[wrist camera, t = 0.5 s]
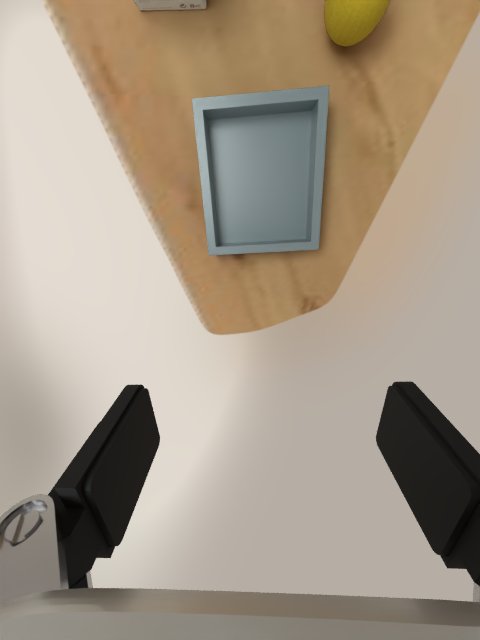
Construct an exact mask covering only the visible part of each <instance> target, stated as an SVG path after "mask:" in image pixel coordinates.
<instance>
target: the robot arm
mask: <svg viewBox="0 0 480 640" xmlns="http://www.w3.org/2000/svg"><path fill="white" fill-rule="evenodd" d="M376 441H377V445H378V447H379V449H380V451H381V453H382V455H383V457H384V459H385V461H386V462H387V464H388V466H389V468H390V470H391V472H392V474H393V476H394V478H395V480H396V481H397V483H398V485H399V487H400V489H401V491H402V493H403V495H404V497H405V498H406V500H407V502H408V504H409V506H410V508H411V510H412V512H413V514H414V516H415V518H416V520H417V521H418V523H419V525H420V527H421V529H422V531H423V533H424V535H425V537H426V538H427V540H428V542H429V544H430V546H431V548H432V549H433V551H434V552H435V553H436V554H438V555H441V558H442V559H443V561H444V563H445V565H446V567H447V568H458V569H467V571H468V572H469V574H470V576H471V578H472V579H473V581H474V591H473V602H467V601H465V602H464V601H451V600H433V599H410V598H387V597H363V596H339V595H338V596H337V595H312V594H286V593H259V592H258V593H257V592H231V591H199V590H167V589H119V588H111V589H110V588H93V586H92V580H91V574H90V570H91V569H92V566H93V564H94V562H95V559H96V558H111V555H112V553H113V550H114V548H115V546H118V545H119V544H120V543H121V541H122V539H123V537H124V534H125V531H126V529H127V526H128V524H129V521H130V519H131V516H132V513H133V511H134V508H135V506H136V503H137V501H138V498H139V495H140V493H141V490H142V487H143V485H144V482H145V480H146V477H147V475H148V472H149V470H150V467H151V464H152V462H153V459H154V457H155V454H156V451H157V449H158V446H159V442H160V435H159V432H158V427H157V424H156V419H155V416H154V411H153V407H152V404H151V400H150V396H149V392H148V389H146V388H144V386H143V385H127V386H126V387H125V388H124V389H123V391H122V392H121V393H120V395H119V396H118V398H117V399H116V401H115V402H114V404H113V405H112V406H111V408H110V409H109V411H108V412H107V413H106V415H105V416H104V418H103V419H102V421H101V422H100V423H99V424H98V425H97V427H96V428H95V429H94V431H93V432H92V433H91V435H90V436H89V438H88V439H87V440H86V442H85V443H84V445H83V446H82V448H81V449H80V451H79V452H78V453H77V455H76V456H75V457H74V459H73V460H72V462H71V463H70V465H69V466H68V468H67V469H66V470H65V472H64V473H63V474H62V476H61V477H60V479H59V480H58V482H57V483H56V484H55V486H54V487H53V489H52V490H51V492H50V493H49V494H48V495H42V494H39V495H35V496H31V497H28V498H26V499H24V500H22V501H20V502H19V503H17V504H16V505H14V506H13V507H11V508H10V509H9V510H8V511H6V512H5V513H4V514H3V515H2V516H1V517H0V640H480V454H479V453H478V452H477V451H476V450H475V449H474V447H472V445H471V444H470V443H469V442H468V441H467V440H466V439H465V438H464V437H463V436H462V435H461V433H460V432H459V431H458V430H457V429H456V428H455V427H454V426H453V425H452V424H451V423H450V421H449V420H448V419H447V418H446V417H445V416H444V415H443V414H442V413H441V412H440V411H439V409H438V408H437V407H436V406H435V405H434V404H433V403H432V402H431V401H430V400H429V399H428V398H427V396H426V395H425V394H424V393H423V392H422V391H421V390H420V389H419V388H418V387H417V386H416V384H414V383H413V382H394V383H393V385H392V386H389V387H388V390H387V395H386V399H385V403H384V407H383V411H382V415H381V419H380V423H379V427H378V431H377V435H376Z"/></svg>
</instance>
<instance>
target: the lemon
mask: <svg viewBox="0 0 480 640" xmlns="http://www.w3.org/2000/svg"><path fill="white" fill-rule="evenodd" d="M389 2H390V0H326V1H325V9H324V18H325V25H326V29H327V33H328V34H329V36H330V38H331V39H332V40H333V41H334V42H335V43H336V44H338V45H340V46H351V45H354V44H356V43H358V42H360V41H362V40H363V39H364V38H365V37H366V36H368V35H369V34H370V33H371V32H372V31H373V29H374V28H375V27H376V25H377V24H378V23H379V21H380V20H381V18H382V17H383V14H384V12H385V10H386V8H387V6H388V4H389Z"/></svg>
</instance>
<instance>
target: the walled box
mask: <svg viewBox="0 0 480 640" xmlns="http://www.w3.org/2000/svg"><path fill="white" fill-rule="evenodd" d="M328 99H329V86H321V87H310V88H300V89H289V90H278V91H268V92H257V93H247V94H236V95H226V96H215V97H204V98H194V99H192V104H193V113H194V123H195V132H196V141H197V150H198V160H199V169H200V178H201V187H202V197H203V206H204V215H205V224H206V234H207V243H208V252H209V255H226V254H245V253H263V252H282V251H300V250H319V236H320V221H321V206H322V190H323V175H324V160H325V145H326V130H327V114H328Z"/></svg>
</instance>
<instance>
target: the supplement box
mask: <svg viewBox="0 0 480 640" xmlns="http://www.w3.org/2000/svg"><path fill="white" fill-rule="evenodd" d="M134 2H135V4H136V5H137V7H138V9H139V10H194V9H206V0H134Z"/></svg>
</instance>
